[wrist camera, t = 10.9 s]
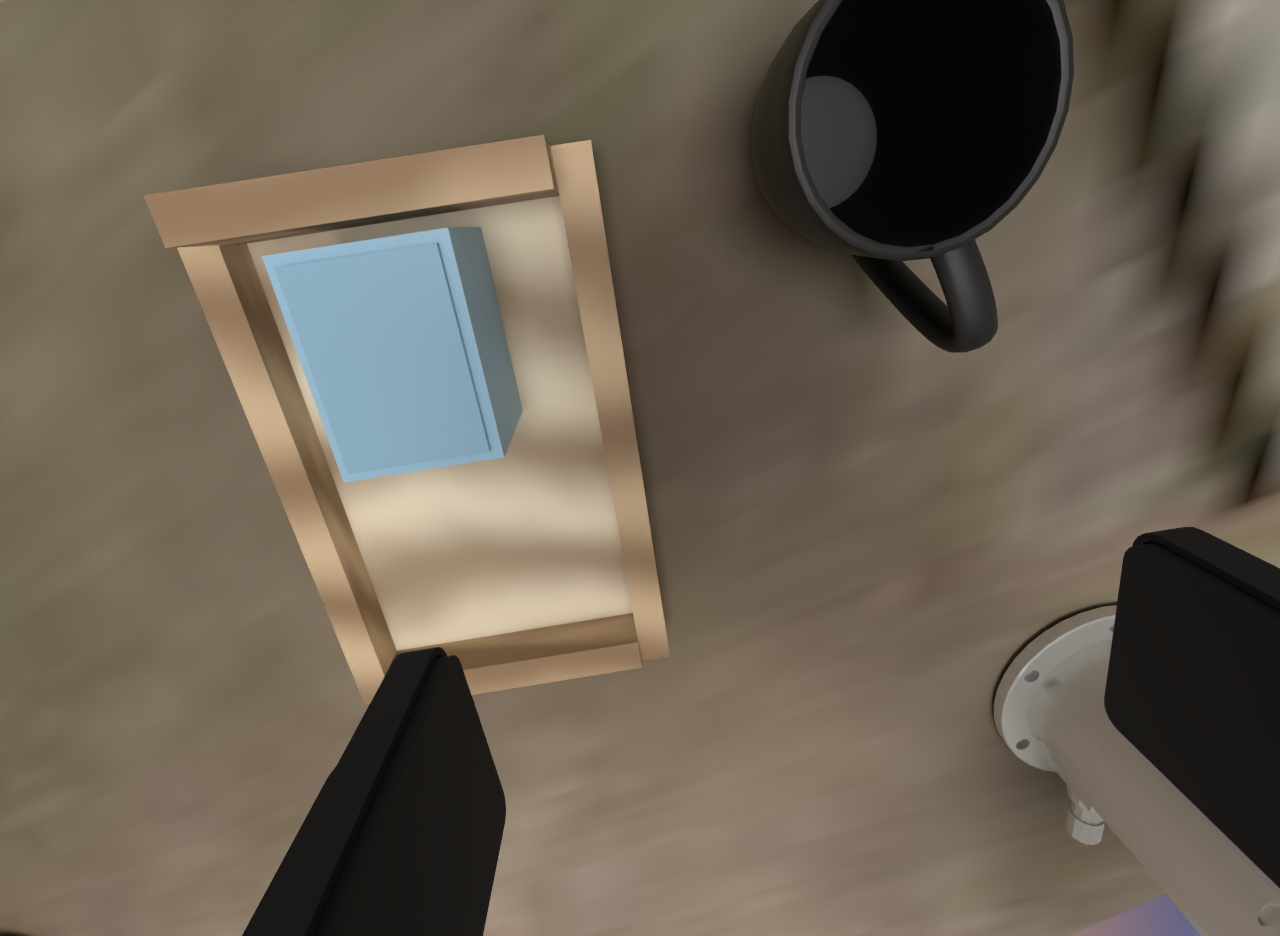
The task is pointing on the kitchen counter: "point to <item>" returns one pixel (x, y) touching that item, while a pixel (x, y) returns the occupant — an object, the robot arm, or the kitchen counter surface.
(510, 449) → the tray
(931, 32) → the mug
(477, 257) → the light blue block
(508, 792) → the kitchen counter surface
